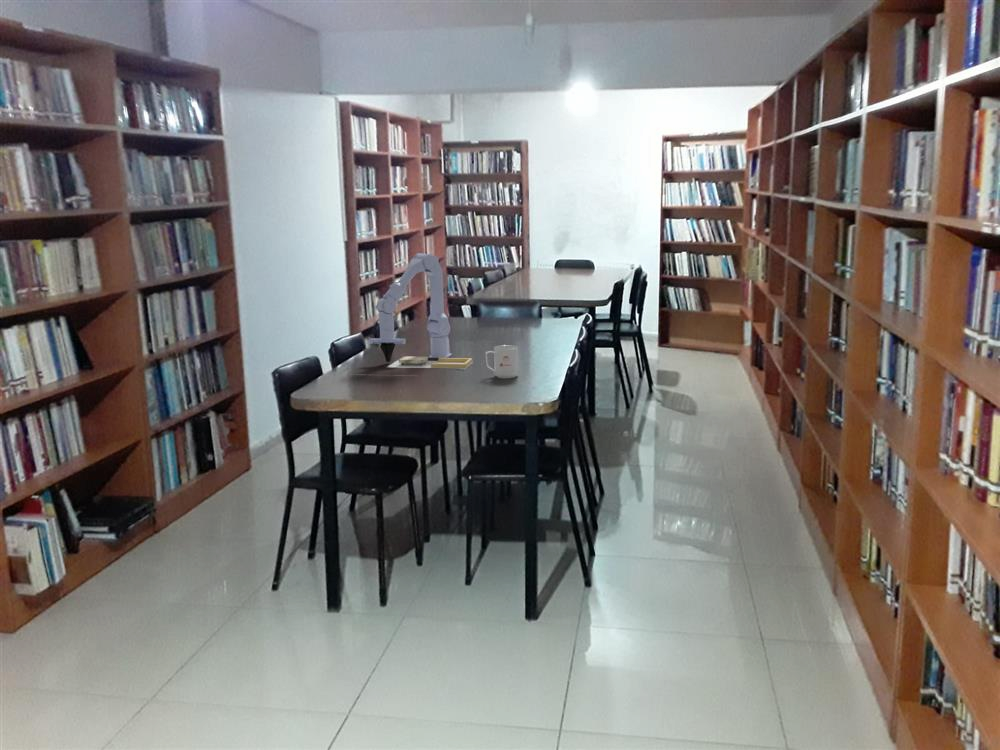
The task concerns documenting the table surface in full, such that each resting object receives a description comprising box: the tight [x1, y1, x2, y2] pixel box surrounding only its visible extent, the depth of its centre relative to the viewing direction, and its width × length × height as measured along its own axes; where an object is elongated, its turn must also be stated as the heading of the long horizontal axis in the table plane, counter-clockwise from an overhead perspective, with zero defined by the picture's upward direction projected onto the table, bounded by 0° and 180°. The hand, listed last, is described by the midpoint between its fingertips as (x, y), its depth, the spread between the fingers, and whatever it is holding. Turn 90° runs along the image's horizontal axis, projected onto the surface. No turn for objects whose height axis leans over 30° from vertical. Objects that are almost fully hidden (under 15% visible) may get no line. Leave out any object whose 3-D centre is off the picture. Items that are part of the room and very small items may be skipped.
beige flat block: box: [398, 355, 429, 365], centre depth 353 cm, size 10×7×2 cm
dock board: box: [387, 357, 474, 371], centre depth 352 cm, size 14×32×2 cm, turn 79°
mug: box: [485, 344, 519, 379], centre depth 327 cm, size 12×9×11 cm
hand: (388, 361), depth 355 cm, fingers closed
